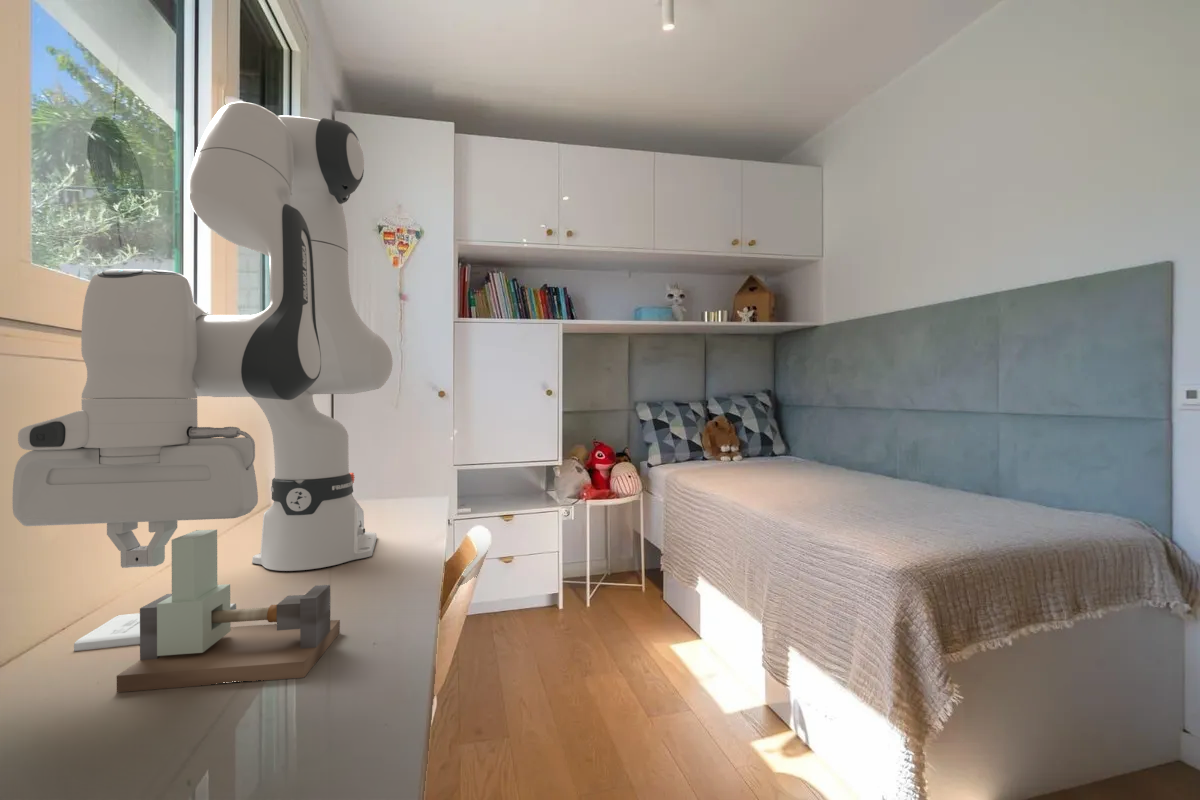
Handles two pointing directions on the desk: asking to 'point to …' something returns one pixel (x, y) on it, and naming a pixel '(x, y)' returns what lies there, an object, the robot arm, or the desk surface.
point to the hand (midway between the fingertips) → (143, 565)
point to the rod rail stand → (240, 646)
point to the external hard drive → (115, 633)
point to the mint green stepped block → (192, 597)
